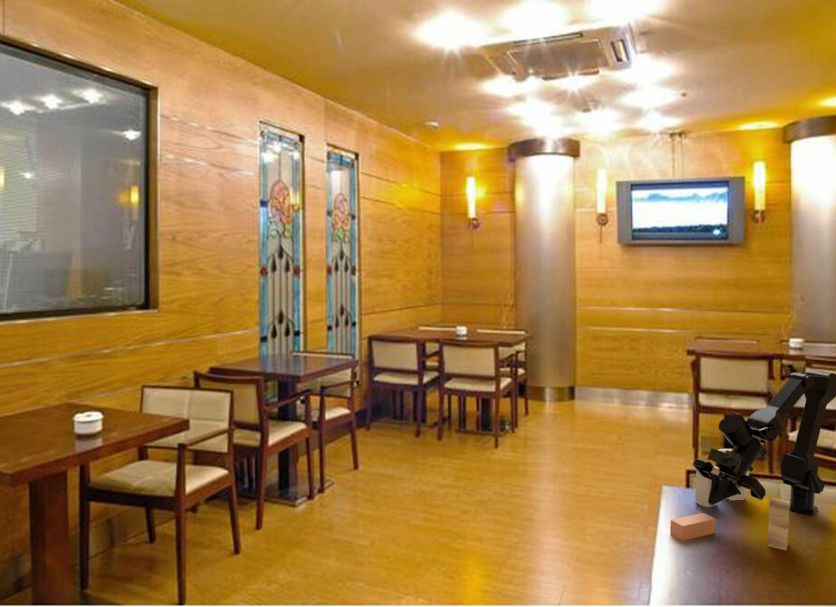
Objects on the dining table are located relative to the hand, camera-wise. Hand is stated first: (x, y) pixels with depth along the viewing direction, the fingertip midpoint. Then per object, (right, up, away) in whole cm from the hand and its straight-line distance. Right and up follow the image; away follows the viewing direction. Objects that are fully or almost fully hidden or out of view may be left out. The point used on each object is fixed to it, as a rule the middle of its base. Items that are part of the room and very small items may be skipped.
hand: (709, 503), depth 161 cm
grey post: (+7, -6, +18) cm, 20 cm away
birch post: (+13, -8, -8) cm, 17 cm away
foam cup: (+17, -6, +23) cm, 29 cm away
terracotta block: (0, -5, +1) cm, 5 cm away
